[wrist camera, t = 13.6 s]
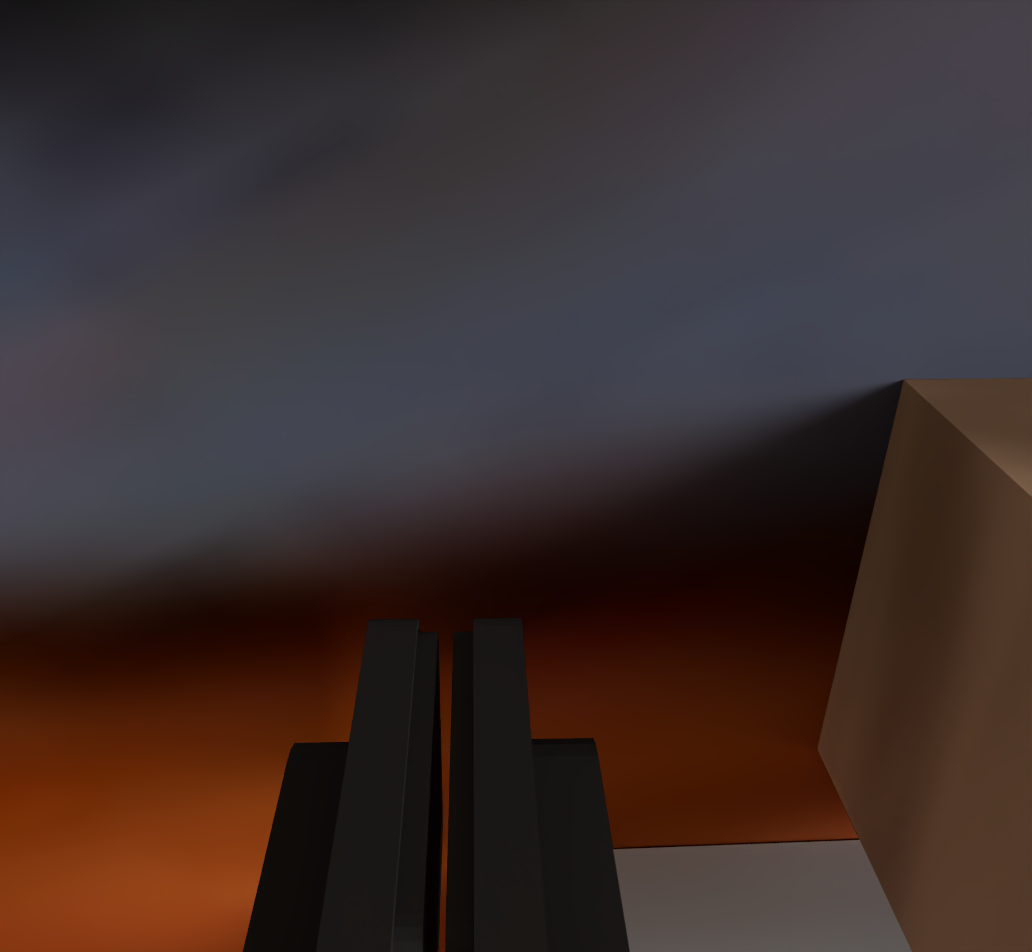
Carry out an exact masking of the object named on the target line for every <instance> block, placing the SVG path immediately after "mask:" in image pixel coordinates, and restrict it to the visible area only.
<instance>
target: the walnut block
mask: <svg viewBox="0 0 1032 952" xmlns="http://www.w3.org/2000/svg"><path fill="white" fill-rule="evenodd" d="M817 750H818V752H819V754H820V756H821V758H822V760H823V763H824V765H825V767H826V769H827V771H828V773H829V775H830V778H831V780H832V782H833V784H834V786H835V788H836V790H837V792H838V795H839V797H840V799H841V801H842V803H843V805H844V807H845V810H846V812H847V814H848V816H849V818H850V820H851V822H852V825H853V827H854V829H855V831H856V833H857V835H858V837H859V839H860V842H861V844H862V846H863V848H864V850H865V852H866V854H867V857H868V859H869V861H870V863H871V865H872V867H873V869H874V872H875V874H876V876H877V878H878V880H879V882H880V884H881V887H882V889H883V891H884V893H885V895H886V897H887V899H888V901H889V904H890V906H891V908H892V910H893V912H894V914H895V916H896V919H897V921H898V923H899V925H900V927H901V929H902V931H903V934H904V936H905V938H906V940H907V942H908V944H909V946H910V948H911V951H912V952H1032V378H1008V379H904V381H903V385H902V389H901V393H900V398H899V402H898V406H897V410H896V415H895V419H894V423H893V427H892V432H891V436H890V440H889V445H888V449H887V453H886V457H885V462H884V466H883V470H882V474H881V479H880V483H879V487H878V491H877V496H876V500H875V504H874V509H873V513H872V517H871V521H870V526H869V530H868V534H867V538H866V543H865V547H864V551H863V555H862V560H861V564H860V568H859V573H858V577H857V581H856V585H855V590H854V594H853V598H852V602H851V607H850V611H849V615H848V619H847V624H846V628H845V632H844V637H843V641H842V645H841V649H840V654H839V658H838V662H837V666H836V671H835V675H834V679H833V683H832V688H831V692H830V696H829V701H828V705H827V709H826V713H825V718H824V722H823V726H822V730H821V735H820V739H819V743H818V747H817Z"/></svg>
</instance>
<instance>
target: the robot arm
mask: <svg viewBox="0 0 1032 952" xmlns="http://www.w3.org/2000/svg"><path fill="white" fill-rule="evenodd" d="M442 832H443V801H442V760H441V719H440V678H439V639H438V632H420V624H419V619H370V620H369V622H368V626H367V632H366V638H365V645H364V651H363V657H362V663H361V670H360V676H359V682H358V689H357V695H356V701H355V708H354V714H353V720H352V726H351V733H350V739H349V742H322V743H294V745H293V746H292V748H291V751H290V754H289V757H288V761H287V765H286V769H285V773H284V778H283V782H282V786H281V790H280V795H279V799H278V803H277V808H276V812H275V816H274V820H273V825H272V829H271V833H270V838H269V842H268V846H267V850H266V855H265V859H264V863H263V868H262V872H261V876H260V881H259V885H258V889H257V893H256V898H255V902H254V906H253V911H252V915H251V919H250V923H249V928H248V932H247V936H246V941H245V945H244V949H243V952H439V925H440V895H441V865H442ZM446 952H630V950H629V943H628V937H627V931H626V925H625V919H624V913H623V906H622V900H621V894H620V888H619V882H618V876H617V869H616V863H615V857H614V851H613V845H612V839H611V832H610V826H609V820H608V814H607V808H606V802H605V795H604V789H603V783H602V777H601V771H600V765H599V758H598V753H597V748H596V744H595V741H594V739H593V738H574V739H531V729H530V716H529V703H528V690H527V678H526V665H525V652H524V640H523V627H522V619H521V618H473V632H454V634H453V670H452V708H451V746H450V783H449V821H448V858H447V896H446Z"/></svg>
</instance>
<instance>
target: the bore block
mask: <svg viewBox="0 0 1032 952" xmlns="http://www.w3.org/2000/svg"><path fill="white" fill-rule="evenodd" d="M613 851H614V857H615V863H616V869H617V876H618V882H619V888H620V894H621V900H622V906H623V913H624V919H625V925H626V931H627V937H628V943H629V950H630V952H912V951H911V948H910V946H909V944H908V942H907V940H906V938H905V936H904V934H903V931H902V929H901V927H900V925H899V923H898V921H897V919H896V916H895V914H894V912H893V910H892V908H891V906H890V904H889V901H888V899H887V897H886V895H885V893H884V891H883V889H882V887H881V884H880V882H879V880H878V878H877V876H876V874H875V872H874V869H873V867H872V865H871V863H870V861H869V859H868V857H867V854H866V852H865V850H864V848H863V846H862V844H861V842H860V840H845V841H819V842H793V843H767V844H740V845H714V846H688V847H662V848H636V849H613Z"/></svg>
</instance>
